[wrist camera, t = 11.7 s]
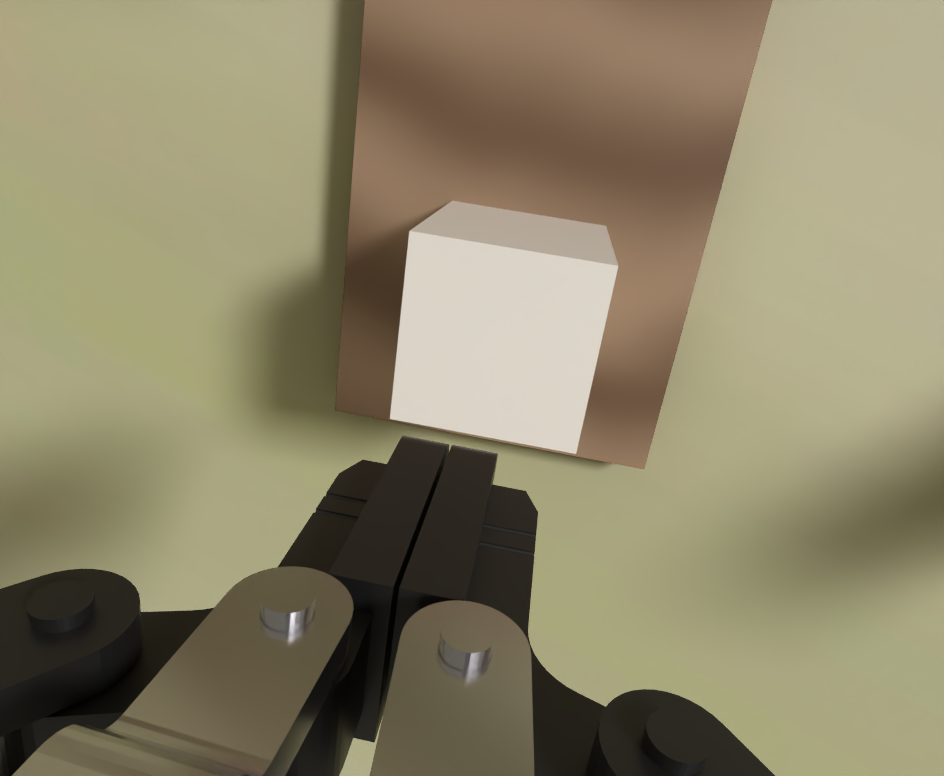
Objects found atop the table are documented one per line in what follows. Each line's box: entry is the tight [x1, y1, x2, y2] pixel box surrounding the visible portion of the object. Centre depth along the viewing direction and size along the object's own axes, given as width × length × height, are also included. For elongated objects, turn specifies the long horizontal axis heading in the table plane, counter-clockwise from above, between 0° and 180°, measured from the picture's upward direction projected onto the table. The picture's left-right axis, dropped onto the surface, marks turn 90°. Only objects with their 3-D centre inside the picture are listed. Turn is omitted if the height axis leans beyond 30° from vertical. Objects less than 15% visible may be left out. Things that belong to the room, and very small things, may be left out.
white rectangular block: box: [390, 201, 618, 454], centre depth 21 cm, size 5×5×7 cm
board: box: [335, 0, 772, 469], centre depth 22 cm, size 23×12×2 cm, turn 172°
